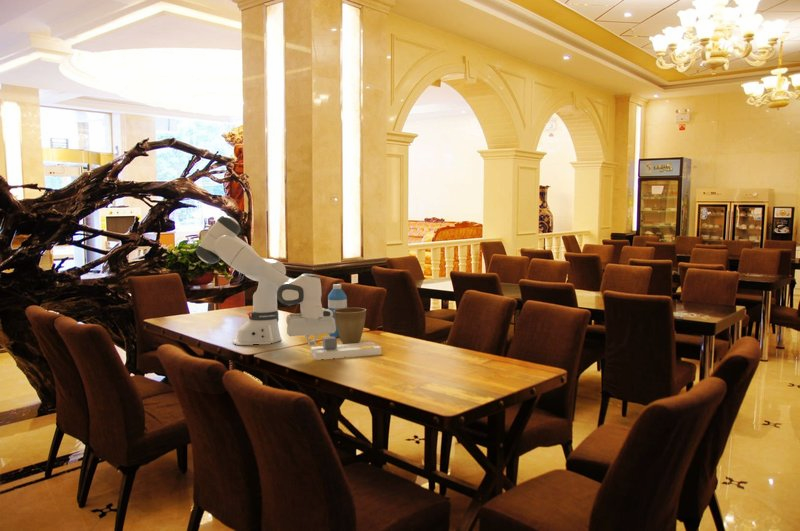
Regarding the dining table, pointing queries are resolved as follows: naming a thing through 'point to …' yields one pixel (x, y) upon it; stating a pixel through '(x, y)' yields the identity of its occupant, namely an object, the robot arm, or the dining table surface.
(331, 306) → the water bottle
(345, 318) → the plant pot
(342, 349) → the switch plate
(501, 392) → the dining table surface
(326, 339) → the switch knob
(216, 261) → the robot arm
